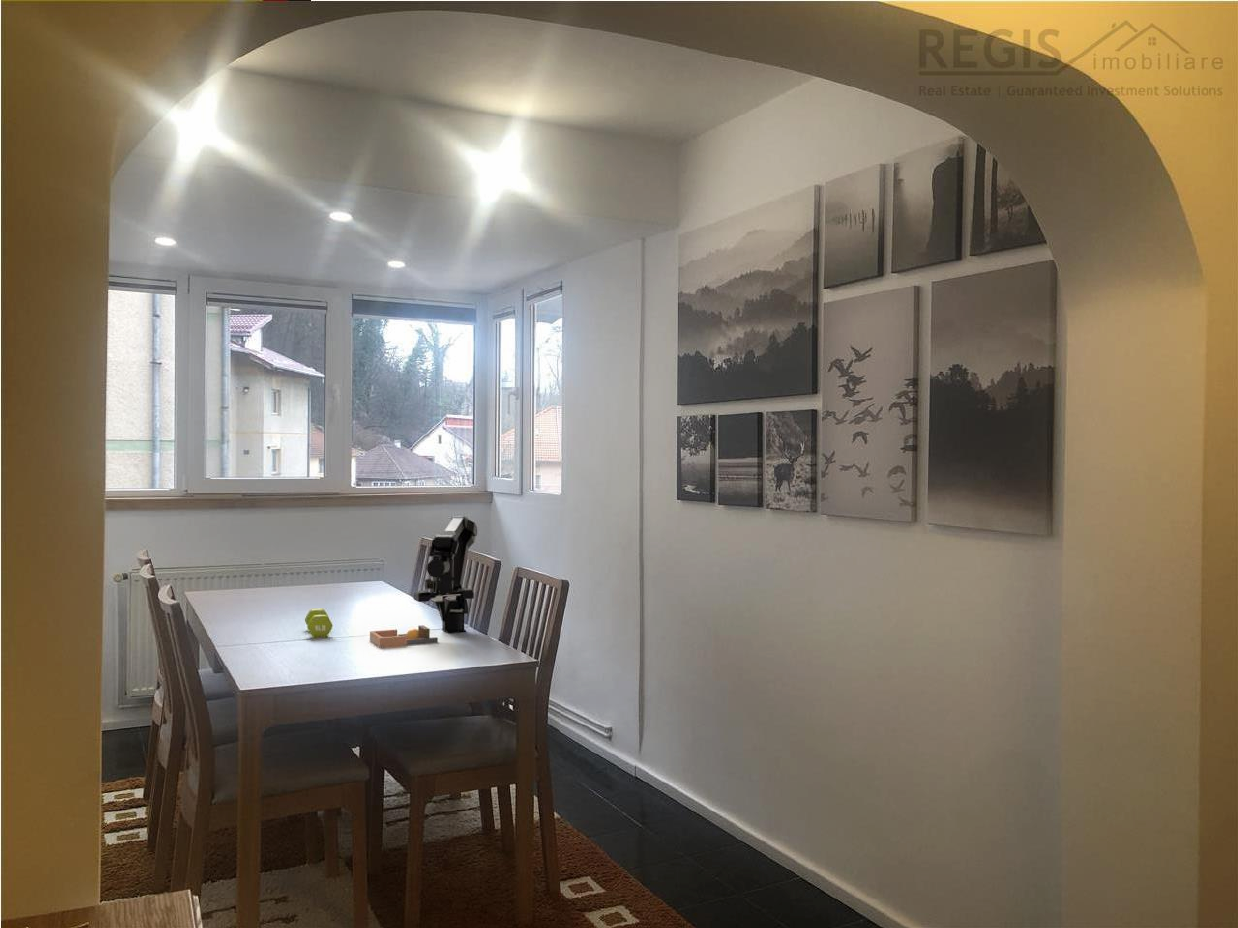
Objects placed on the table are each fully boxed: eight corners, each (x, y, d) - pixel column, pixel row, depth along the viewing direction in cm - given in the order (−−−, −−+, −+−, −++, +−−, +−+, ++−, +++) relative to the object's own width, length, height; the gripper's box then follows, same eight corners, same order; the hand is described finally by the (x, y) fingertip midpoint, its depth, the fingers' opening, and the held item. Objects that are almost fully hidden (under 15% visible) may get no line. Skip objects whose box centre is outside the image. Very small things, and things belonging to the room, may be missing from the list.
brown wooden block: (422, 637, 307) (423, 625, 307) (429, 641, 301) (429, 628, 301) (418, 637, 306) (418, 625, 306) (424, 641, 300) (424, 629, 300)
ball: (417, 639, 304) (417, 627, 304) (421, 641, 301) (421, 629, 301) (405, 640, 302) (405, 628, 302) (408, 642, 299) (408, 630, 299)
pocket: (396, 638, 305) (396, 629, 305) (407, 645, 295) (407, 635, 295) (369, 640, 301) (370, 631, 301) (379, 647, 290) (380, 638, 290)
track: (427, 636, 309) (428, 632, 309) (437, 642, 300) (437, 637, 300) (397, 639, 304) (397, 634, 304) (406, 644, 296) (406, 640, 296)
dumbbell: (332, 637, 305) (333, 615, 305) (306, 638, 302) (307, 616, 302) (329, 628, 321) (329, 607, 320) (304, 629, 318) (304, 608, 318)
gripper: (463, 569, 318) (462, 615, 318) (408, 571, 309) (408, 619, 309) (475, 573, 308) (474, 620, 308) (419, 575, 299) (418, 625, 299)
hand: (443, 621), depth 307 cm, fingers closed
